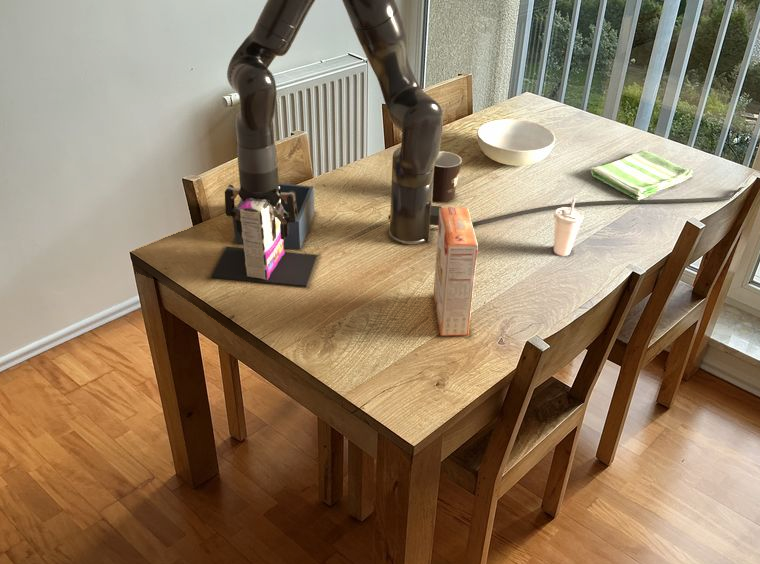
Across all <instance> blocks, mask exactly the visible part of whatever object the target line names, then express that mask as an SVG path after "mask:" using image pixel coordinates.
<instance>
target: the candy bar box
mask: <svg viewBox="0 0 760 564" xmlns="http://www.w3.org/2000/svg"><path fill="white" fill-rule="evenodd" d="M279 189H280V186H279ZM279 202H280V203H281V199H280V200H279ZM239 212H240V221H241V231H242V239H243V244H242V245H243V247H242V248H244V257H245V266H246V276H247V277H251V278H257V279H263V280H268V278H269V277H270V275H271V274H272V272H273V270H274V269H275V267H276V266H277V264H278V263H279V261H280V259H281V258H282V256H283V255H284V253H285V252H286V251H285V248H284V240H283V239H281V232H280V223H281V222H280V221H279V220H278V219H277V217H274V216H273V215H272V213H271V212H270V208H269V204H268V202H262V199H255V201H251V200H249V198H247V199H246V200H245V201H244V203H243V204H242V205H241V207H240V208H239Z"/></svg>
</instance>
